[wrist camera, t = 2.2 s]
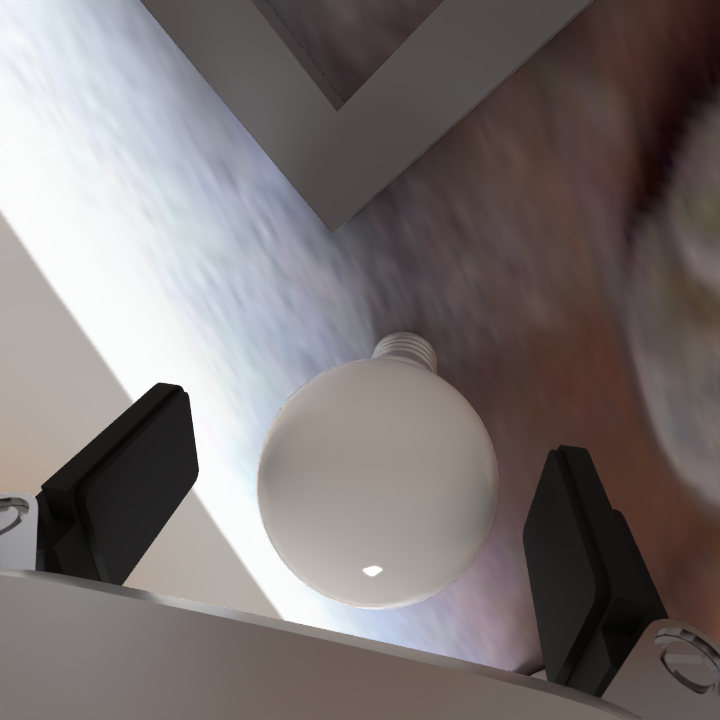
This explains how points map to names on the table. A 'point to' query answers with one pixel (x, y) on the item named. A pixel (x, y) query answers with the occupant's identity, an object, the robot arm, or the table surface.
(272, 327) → the table surface
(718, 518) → the table surface
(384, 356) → the lightbulb
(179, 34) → the socket block
